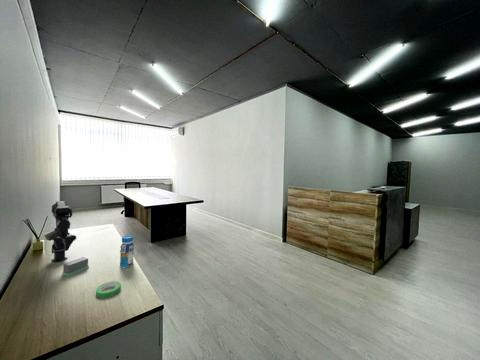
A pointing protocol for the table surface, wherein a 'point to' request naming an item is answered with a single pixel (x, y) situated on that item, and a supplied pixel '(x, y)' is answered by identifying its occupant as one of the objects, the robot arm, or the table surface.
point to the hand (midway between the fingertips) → (62, 249)
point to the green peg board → (74, 271)
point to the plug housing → (75, 265)
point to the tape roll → (108, 293)
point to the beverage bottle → (126, 252)
